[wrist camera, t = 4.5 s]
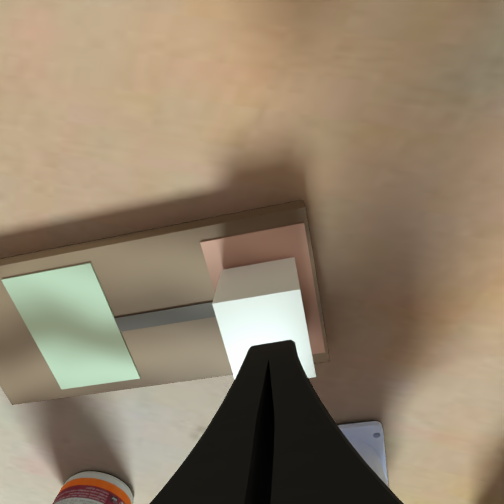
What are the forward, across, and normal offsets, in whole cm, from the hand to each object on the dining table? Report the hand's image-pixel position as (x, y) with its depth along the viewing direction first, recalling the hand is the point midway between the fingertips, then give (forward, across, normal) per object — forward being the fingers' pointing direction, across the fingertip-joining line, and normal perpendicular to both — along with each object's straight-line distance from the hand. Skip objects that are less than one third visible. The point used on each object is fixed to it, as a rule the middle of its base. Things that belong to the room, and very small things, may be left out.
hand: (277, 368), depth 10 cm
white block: (+8, +1, +3) cm, 9 cm away
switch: (+10, +9, +2) cm, 14 cm away
